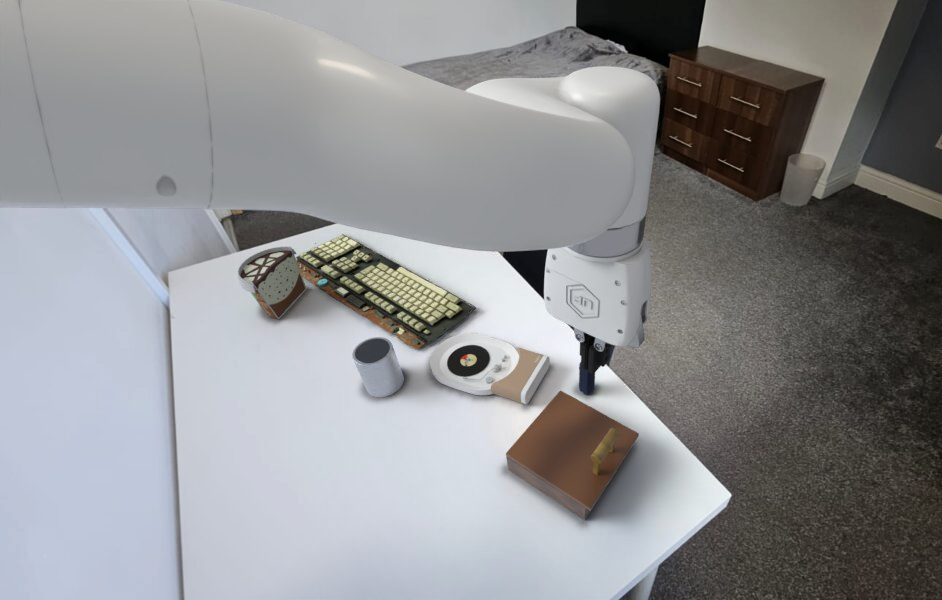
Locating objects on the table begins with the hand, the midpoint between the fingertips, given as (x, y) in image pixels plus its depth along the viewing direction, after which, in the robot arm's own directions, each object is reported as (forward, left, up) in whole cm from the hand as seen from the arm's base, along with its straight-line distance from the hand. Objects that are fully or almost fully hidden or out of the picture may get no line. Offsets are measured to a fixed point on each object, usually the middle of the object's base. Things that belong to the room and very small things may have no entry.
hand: (594, 363), depth 53 cm
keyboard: (+10, +59, -23) cm, 64 cm away
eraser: (+12, +8, -23) cm, 27 cm away
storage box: (0, +3, -23) cm, 23 cm away
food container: (-4, +71, -23) cm, 75 cm away
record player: (+6, +25, -23) cm, 35 cm away
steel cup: (-6, +37, -23) cm, 44 cm away
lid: (0, +3, -19) cm, 20 cm away
